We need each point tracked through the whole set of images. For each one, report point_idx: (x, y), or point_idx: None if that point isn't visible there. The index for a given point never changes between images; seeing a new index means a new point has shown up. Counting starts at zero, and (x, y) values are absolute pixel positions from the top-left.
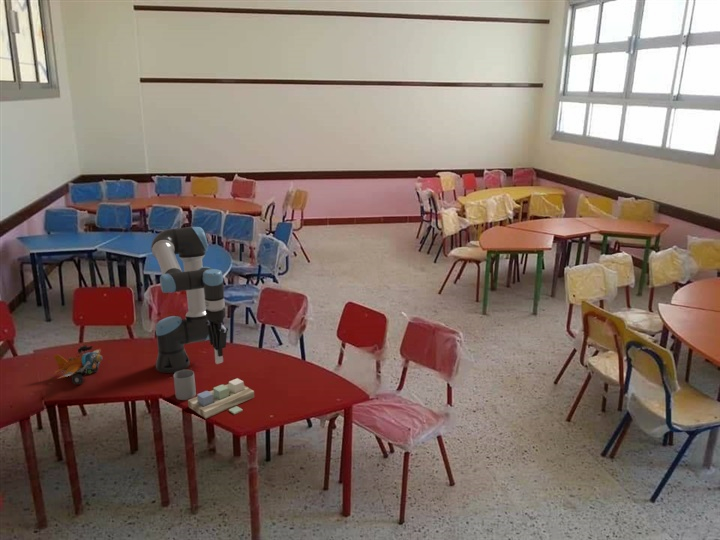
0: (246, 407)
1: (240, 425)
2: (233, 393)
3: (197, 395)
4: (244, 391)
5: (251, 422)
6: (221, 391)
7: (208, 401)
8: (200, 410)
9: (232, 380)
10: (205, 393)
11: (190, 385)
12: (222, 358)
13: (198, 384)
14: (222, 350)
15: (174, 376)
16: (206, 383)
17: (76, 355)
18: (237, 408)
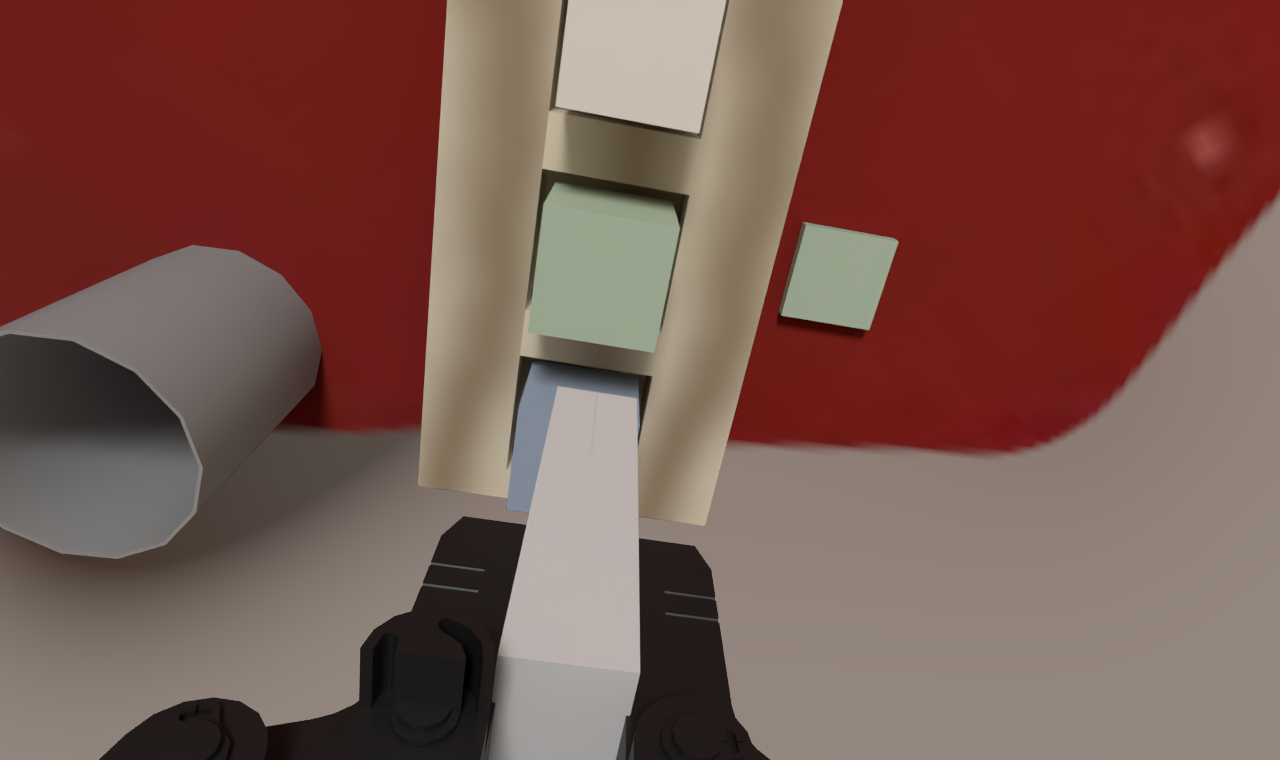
0: (887, 170)
1: (1014, 410)
2: (680, 142)
3: (514, 504)
4: (760, 25)
5: (1077, 331)
6: (658, 321)
7: None
8: None
9: (570, 43)
10: None
11: (257, 407)
12: (636, 453)
13: (91, 111)
14: (725, 671)
15: (15, 494)
16: (129, 37)
17: None
18: (841, 256)
